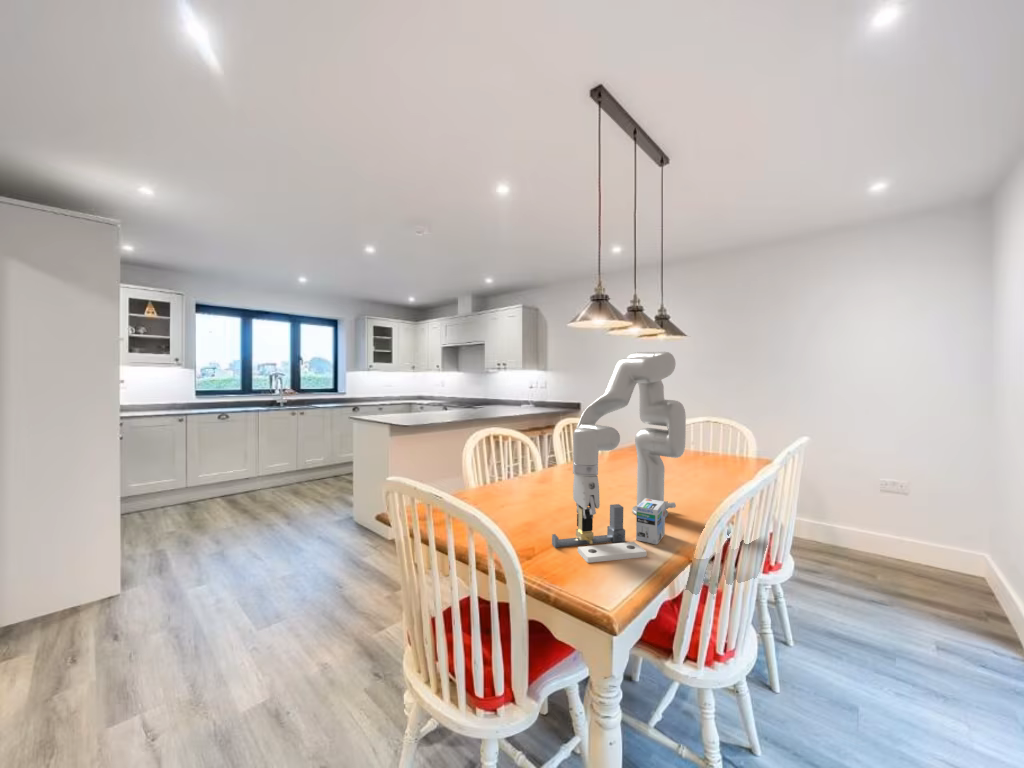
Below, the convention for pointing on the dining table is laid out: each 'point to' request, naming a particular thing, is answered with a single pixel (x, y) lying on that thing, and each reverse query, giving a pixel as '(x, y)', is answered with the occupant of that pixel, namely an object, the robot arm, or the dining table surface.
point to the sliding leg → (579, 533)
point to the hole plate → (611, 552)
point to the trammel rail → (613, 535)
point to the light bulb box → (650, 521)
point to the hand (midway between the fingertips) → (584, 528)
